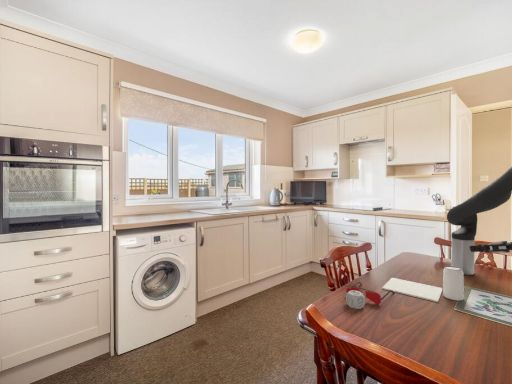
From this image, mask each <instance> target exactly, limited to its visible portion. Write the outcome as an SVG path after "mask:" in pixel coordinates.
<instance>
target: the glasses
mask: <svg viewBox="0 0 512 384" xmlns="http://www.w3.org/2000/svg"><path fill="white" fill-rule="evenodd" d="M358 284H360V285H361V286H363V284H362V283H361V281H359V282H358V281H357V282H356V283H355V284H353V285H348V286H347V287H346V290H345V292H346V294H347V293H348V292H349V291H352V290H355V291H359V292H361V293H362V294H363V291H365V299H368V300H369V301H371V302H373V303H374V304H376V305H377V306H379V305H380V304H381V303H382V300H384V298H386V297H387V296H388V295H389V294H390V293H392V294H394V295H395V292H393V291H392V290H390V291H388V292H386V293H385V295H383V297H382V296H381V295H380V293H378V292H375V291H373V290H370V289H365V288H362V287H358V286H357V285H358ZM362 290H363V291H362Z"/></svg>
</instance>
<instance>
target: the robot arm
mask: <svg viewBox="0 0 512 384" xmlns="http://www.w3.org/2000/svg"><path fill="white" fill-rule="evenodd" d="M511 196H512V166H511V167H509V169H507V170H506V171H505V172H504V173H503V174H502V175H500V176H499V177H497V178H496V179H495V180H493V181H492V182H490V183H489V184H488V185H486V186H484V187H483V188H482V189H480V190H479V191H478V192H477V193H475V194H473V195H472V196H470V197H469V198H467V199H466V200H465V201H463V202H461V203H459V204H457V205H456V206H454V207H452V208H450V209H449V210H448V211H447V215H446V219H447V222H448V223H449V224H450V225H453V226H459V227H460V228H458V229H457V230H453V232H451V234H450V235H451V237H450V238H451V240H450V241H451V246H450V248H451V250H450V251H451V254H450V255H451V256H450V257H451V259H450V261H451V263H450V266H455V267H459V268H462V271H463V273H464V276H465V275H466V276H472V275H475V253H477V252H479V253H480V252H484V253H494V254H496V253H502V254H509V253H511V251H512V241H510V242H508V241H507V240H501V241H496V242H489V243H486V244H475V240H476V239H475V238H476V235H477V230H478V214H480V213H485V212H488V211H491V210H494V209H496V208H498V207H500V206H502V205H503V204H505V203H507V202H508V201H509V200H510V199H511Z"/></svg>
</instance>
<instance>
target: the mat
mask: <svg viewBox="0 0 512 384" xmlns="http://www.w3.org/2000/svg"><path fill="white" fill-rule="evenodd" d="M381 289H382V290H385V291H388V292H389V291H390V290H392V291H393V292H394V293H398V294H401V295H406V296H409V297H414V298H418V299H422V300H427V301H430V302H434V303H439V301H440V298H441V296H442V294H443V287H439V286H434V285H431V284H430V285H429V284H424V283H419V282H415V281H411V280H405V279H401V278H396V277H391V278H390V279H389V280H388V281H387V282H386V283H385V284H383V286H382V287H381Z"/></svg>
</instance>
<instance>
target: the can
mask: <svg viewBox="0 0 512 384" xmlns="http://www.w3.org/2000/svg"><path fill="white" fill-rule="evenodd" d="M464 276H465V274H464V273H463V271H462V268H459V267H455V266H451V265H445V266H444V267H443V273H442V277H443V279H442V286H443V287H442V288H443V291H442V296H444V298H446V300H447V299H448V300H450V301H451V300H452V301H456V302H461V301H463V300H464V294H465V291H464V289H465V288H464V286H465V285H464V282H465V278H464Z"/></svg>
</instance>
